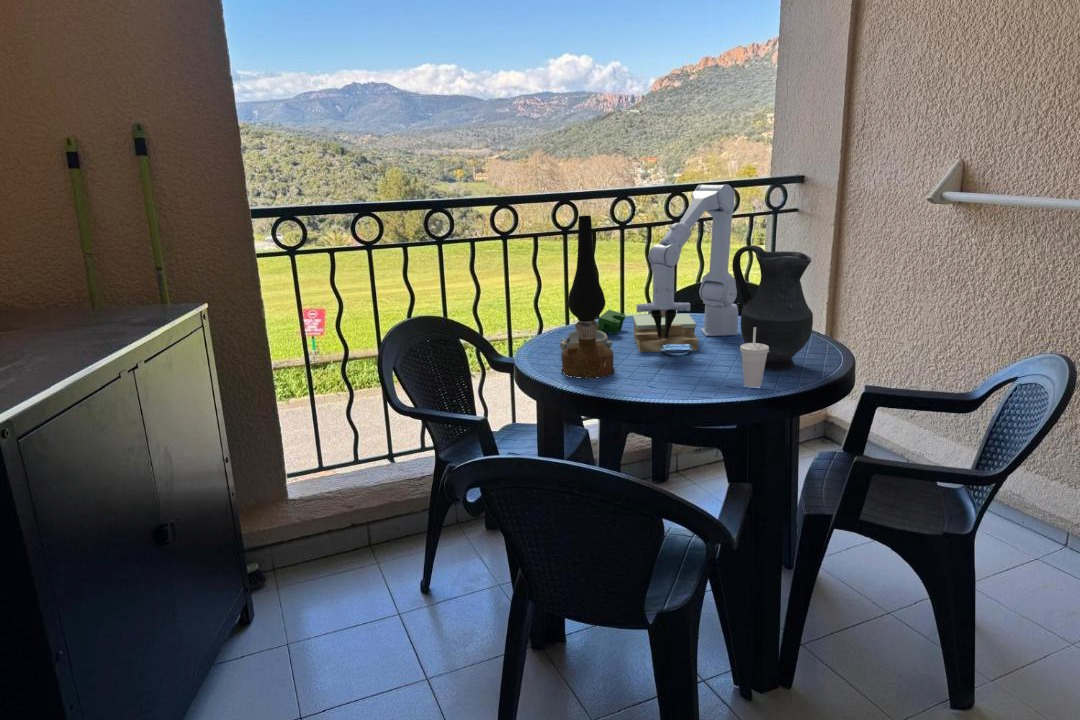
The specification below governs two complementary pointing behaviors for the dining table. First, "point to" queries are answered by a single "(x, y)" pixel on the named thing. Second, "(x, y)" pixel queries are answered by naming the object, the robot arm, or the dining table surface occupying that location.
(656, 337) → the wooden block
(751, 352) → the smoothie
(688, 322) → the lid
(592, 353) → the oil lamp
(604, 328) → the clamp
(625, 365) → the dining table surface
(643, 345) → the tan shallow box
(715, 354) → the dining table surface
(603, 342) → the dish
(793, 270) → the pitcher
